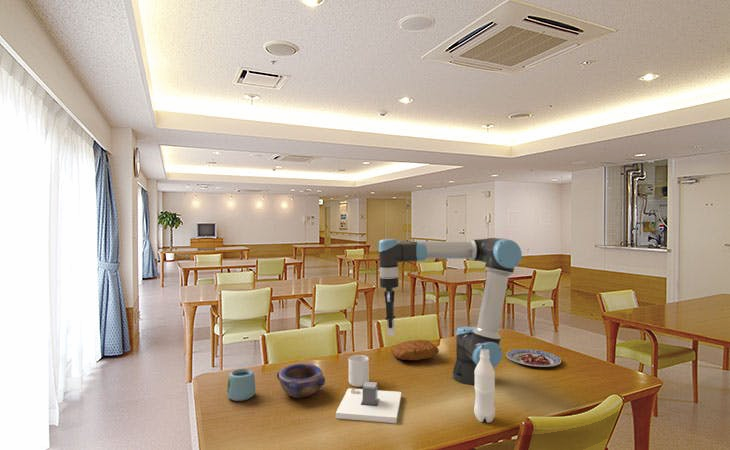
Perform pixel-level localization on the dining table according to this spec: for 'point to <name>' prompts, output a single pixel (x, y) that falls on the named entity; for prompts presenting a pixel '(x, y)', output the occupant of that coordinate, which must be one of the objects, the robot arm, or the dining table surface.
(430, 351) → the bread loaf
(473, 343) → the robot arm
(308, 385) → the bowl
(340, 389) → the dining table surface
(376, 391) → the plug
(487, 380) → the water bottle
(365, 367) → the mug
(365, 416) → the socket plate
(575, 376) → the dining table surface
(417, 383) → the dining table surface
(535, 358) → the ceramic plate
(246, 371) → the mug
